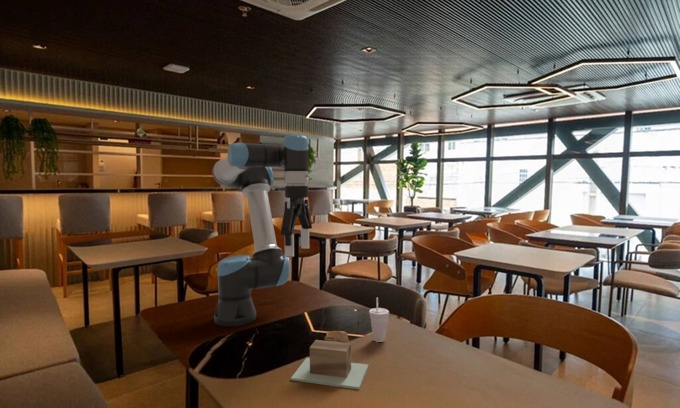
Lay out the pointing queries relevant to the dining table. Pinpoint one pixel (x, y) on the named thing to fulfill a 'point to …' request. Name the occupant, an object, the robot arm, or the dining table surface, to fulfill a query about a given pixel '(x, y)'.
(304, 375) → the felt mat
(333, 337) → the shard
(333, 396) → the dining table surface
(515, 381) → the dining table surface
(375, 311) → the smoothie
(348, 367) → the beige block
